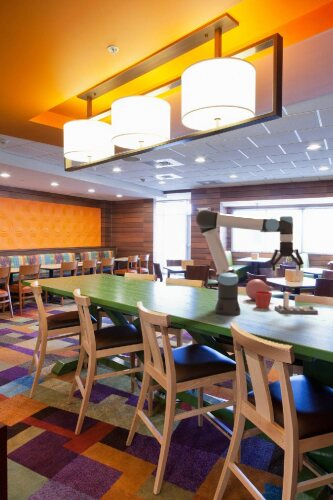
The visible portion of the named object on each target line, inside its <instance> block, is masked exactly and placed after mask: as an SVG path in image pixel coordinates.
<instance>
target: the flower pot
mask: <svg viewBox="0 0 333 500" xmlns="http://www.w3.org/2000/svg"><path fill="white" fill-rule="evenodd" d="M254 293H255V300H254V301H255V305H256V307H257V308H259V309H268V308H270V304H271V300H272V295H273V294H272V291H269V292H265V291H256V292H254Z"/></svg>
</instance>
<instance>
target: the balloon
mask: <svg viewBox="0 0 333 500" xmlns="http://www.w3.org/2000/svg"><path fill="white" fill-rule="evenodd" d="M273 290H275V288H274V287H273V286H272V285H268V284H266V283H265V282H264V280H262V279H257V278H256V279H255V278H254V279H251V280H250V281H248V282H247V284H246V286H245V293H246V296H247V297H248V298H249V299H250V300H253V301H256V300H255V293H254V292H256V291H265V292H272V291H273Z"/></svg>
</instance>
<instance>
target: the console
mask: <svg viewBox="0 0 333 500" xmlns="http://www.w3.org/2000/svg"><path fill="white" fill-rule="evenodd" d="M274 310H275V311H277V312H278V313H280V314H283V315H284V314H289V315H291V314H292V315H298V314H299V315H319V310H317V309H315V308H314V306H312V305H309V306H294V305H292V306H291V305H289V307H286V308H283V305H281V304H278V306H277V305H275V306H274Z"/></svg>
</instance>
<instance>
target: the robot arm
mask: <svg viewBox="0 0 333 500" xmlns="http://www.w3.org/2000/svg"><path fill="white" fill-rule="evenodd" d="M195 222H196V225H197V226H198V228H199V230H200V232H201V235H203V236H204V237H205V240H206V243H207V245H208V248H209V252H210V254H211V257H212V259H213V263H214V266H215V268H216V269H215V270H216V273H215V276H216V279H217V281H218V282H217V301H216V304H215V307H214V313H215V314H217V315H222V316H238V315H240V314H241V307H240V305H239V300H238V298H239V276H238V274H236V273H235V269H234V268H233V267H231V266H230V263H229V260H228V257H227V254H226V251H225V248H224V246H223V243H222V240H221V236H220V234H219V232H218V231H219V229H220V227H222V228H230V229H231V228H233V229H239V230H240V229H242V230H251V231H252V230H253V231H260V233H279V241H280V242H279V249H274V252H273V255H272V257H271V259H270V260H269V262H268V263H269V265H270V266H271V267H272V268H271V269H272V271H273V276H274V277H277V264H278V263H279V261H280V260H281V259H282V258H285V257H288V258H289V257H290V258H291V259H292V260H293V261H294V262H295V264H296V265H295V276H296V277H300V271H301V266H302V265H305V264H304V261H303V259H302V257H301V255H300V253H299V249H297V248H295V249H294V243H293V241H294V240H293V239H294V234H293V233H294V232H293V231H294V219H293V217H292V216H290V215H284V216H283V215H282V216H280V217H279V219H276V218H273V217H271V218H270V217H269V218H268V217H258V216H257V217H256V216H248V215H236V214H227V213H226V214H224V213H220V211H214V210H209V209H202V210H200V211H198V213H197V214H196V217H195ZM293 253H294V254H295V255H294V254H293ZM278 254H279V255H278ZM277 255H278V256H277ZM295 256H296V257H297V258H296V257H295Z"/></svg>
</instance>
